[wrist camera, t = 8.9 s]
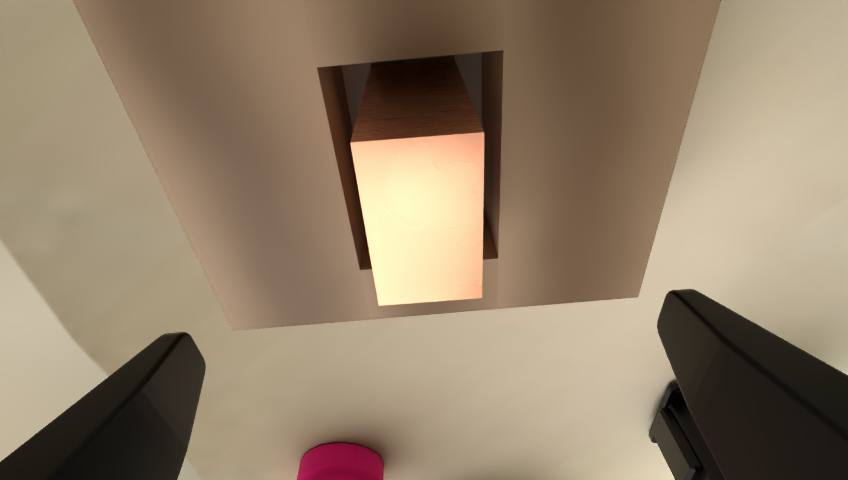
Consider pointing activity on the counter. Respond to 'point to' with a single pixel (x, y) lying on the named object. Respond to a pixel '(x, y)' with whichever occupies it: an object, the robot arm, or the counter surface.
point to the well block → (335, 120)
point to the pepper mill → (340, 463)
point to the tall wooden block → (421, 182)
